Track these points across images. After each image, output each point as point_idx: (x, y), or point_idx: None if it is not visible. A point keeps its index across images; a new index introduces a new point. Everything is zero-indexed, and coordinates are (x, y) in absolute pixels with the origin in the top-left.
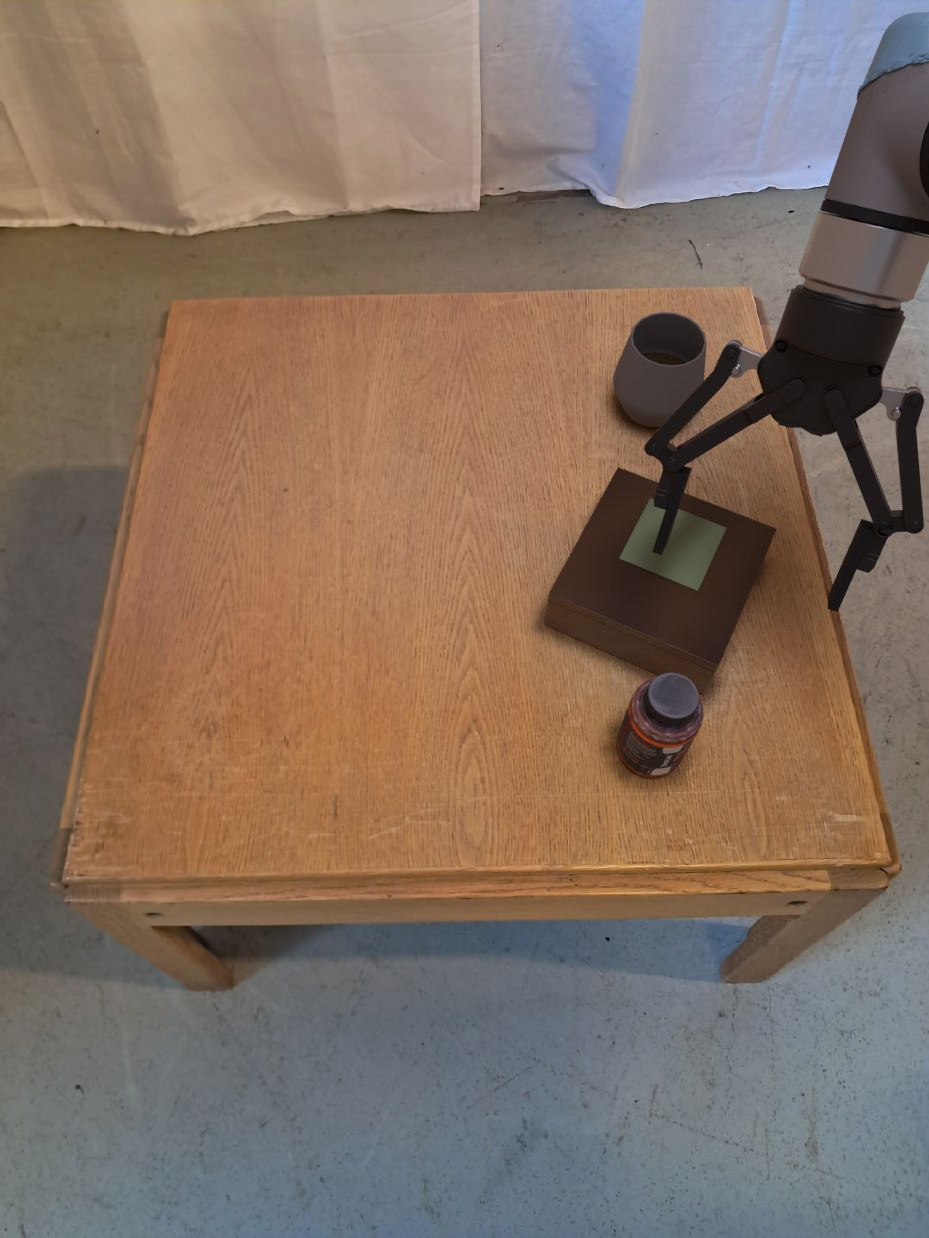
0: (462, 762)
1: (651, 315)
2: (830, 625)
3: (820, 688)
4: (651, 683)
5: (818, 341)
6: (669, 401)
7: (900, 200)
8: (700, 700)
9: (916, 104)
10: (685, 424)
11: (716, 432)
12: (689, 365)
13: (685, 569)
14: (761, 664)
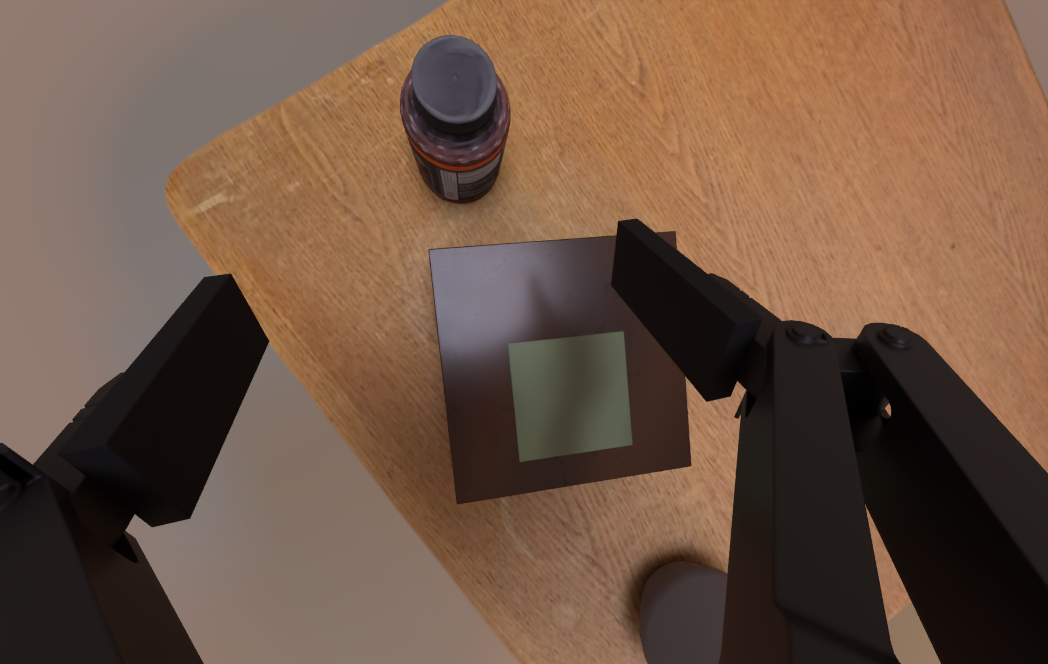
0: (628, 43)
1: None
2: (342, 436)
3: (315, 347)
4: (495, 81)
5: None
6: (681, 609)
7: None
8: (419, 141)
9: None
10: (944, 444)
11: (835, 478)
12: None
13: (538, 365)
14: (393, 338)
